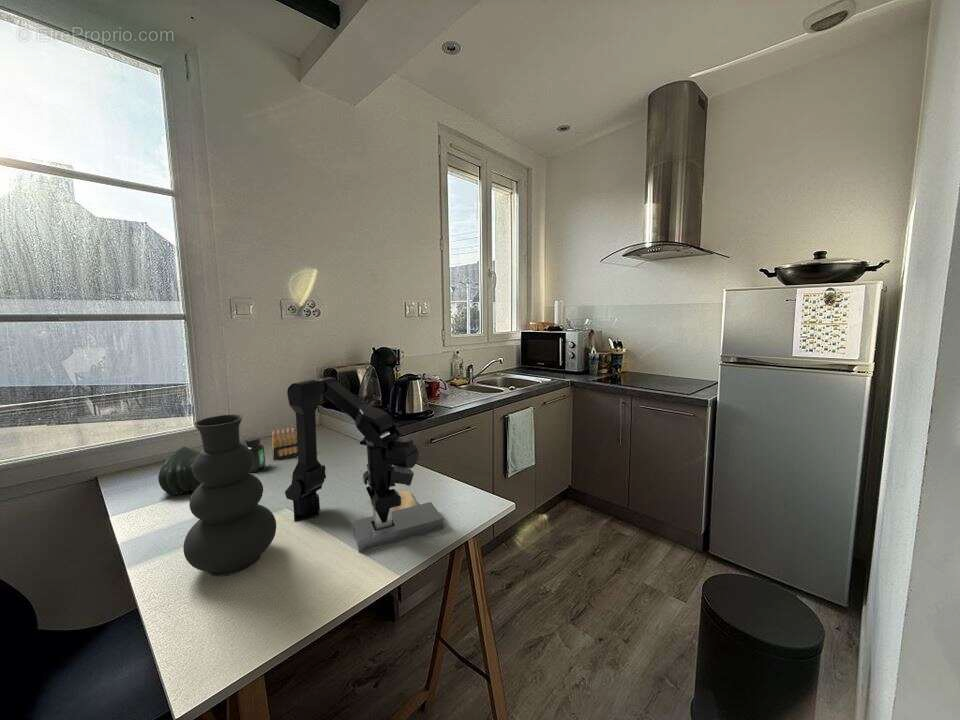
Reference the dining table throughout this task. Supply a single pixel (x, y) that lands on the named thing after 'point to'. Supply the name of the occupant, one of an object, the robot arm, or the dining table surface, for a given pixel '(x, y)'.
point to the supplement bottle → (256, 453)
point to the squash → (179, 472)
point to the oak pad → (403, 501)
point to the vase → (226, 502)
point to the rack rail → (398, 526)
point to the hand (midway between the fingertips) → (382, 518)
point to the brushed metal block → (378, 523)
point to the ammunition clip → (284, 445)
